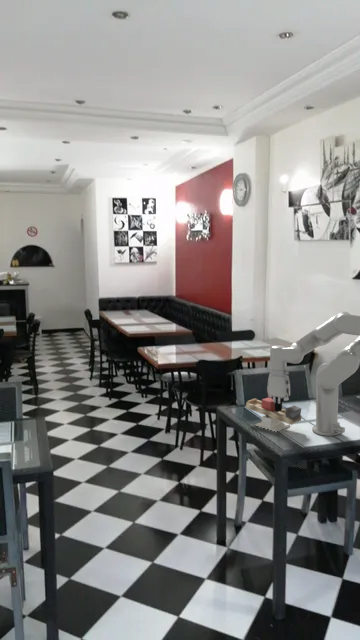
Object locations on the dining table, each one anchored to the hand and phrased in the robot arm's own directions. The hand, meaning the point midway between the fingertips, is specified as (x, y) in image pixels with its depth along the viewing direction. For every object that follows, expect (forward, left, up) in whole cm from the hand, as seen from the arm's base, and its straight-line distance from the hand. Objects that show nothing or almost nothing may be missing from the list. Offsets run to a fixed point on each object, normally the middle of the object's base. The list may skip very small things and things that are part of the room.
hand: (278, 410), depth 239 cm
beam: (+3, 0, -2) cm, 4 cm away
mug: (+21, -26, -9) cm, 35 cm away
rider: (+6, 0, -1) cm, 6 cm away
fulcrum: (+3, 0, -8) cm, 9 cm away
